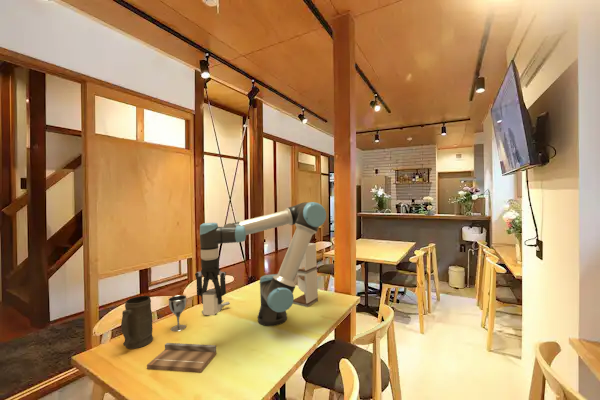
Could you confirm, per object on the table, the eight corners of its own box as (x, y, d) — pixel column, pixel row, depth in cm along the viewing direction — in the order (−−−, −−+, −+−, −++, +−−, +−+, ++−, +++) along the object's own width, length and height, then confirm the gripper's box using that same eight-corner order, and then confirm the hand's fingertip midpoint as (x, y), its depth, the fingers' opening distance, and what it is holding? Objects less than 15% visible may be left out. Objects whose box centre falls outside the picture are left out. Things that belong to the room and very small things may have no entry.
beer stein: (134, 336, 127) (131, 295, 126) (157, 334, 128) (155, 293, 127) (114, 357, 112) (111, 310, 110) (141, 355, 113) (138, 309, 111)
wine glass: (180, 332, 130) (179, 301, 130) (166, 331, 131) (165, 300, 131) (190, 324, 137) (189, 295, 137) (176, 323, 139) (175, 294, 139)
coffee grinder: (303, 297, 170) (301, 242, 171) (317, 300, 164) (315, 243, 164) (292, 303, 161) (290, 245, 161) (307, 307, 155) (305, 246, 155)
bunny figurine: (198, 307, 150) (220, 296, 162) (199, 315, 151) (221, 304, 163) (208, 310, 145) (230, 299, 157) (209, 319, 145) (231, 307, 157)
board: (216, 353, 110) (216, 345, 110) (201, 372, 98) (200, 362, 98) (167, 351, 113) (167, 342, 113) (146, 368, 101) (146, 359, 101)
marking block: (220, 309, 120) (219, 289, 120) (214, 315, 114) (213, 293, 114) (210, 309, 121) (209, 289, 121) (203, 314, 115) (202, 293, 115)
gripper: (232, 256, 120) (235, 308, 120) (195, 256, 123) (197, 307, 123) (225, 260, 113) (228, 315, 113) (186, 260, 115) (188, 314, 115)
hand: (212, 311), depth 118 cm, fingers closed on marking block, 5 cm apart
